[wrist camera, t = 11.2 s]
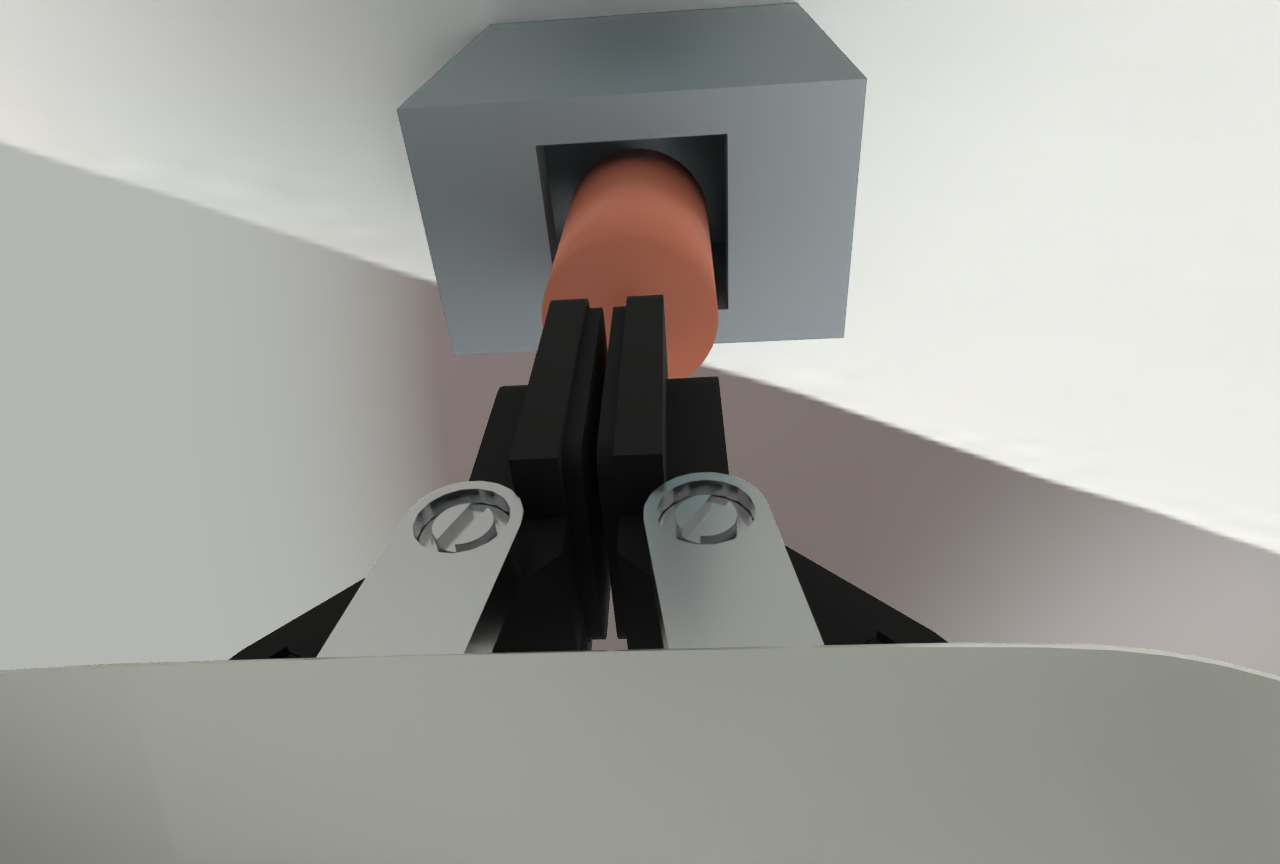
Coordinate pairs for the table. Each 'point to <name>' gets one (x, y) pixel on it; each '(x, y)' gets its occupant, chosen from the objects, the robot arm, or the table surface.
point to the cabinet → (642, 119)
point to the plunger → (641, 249)
